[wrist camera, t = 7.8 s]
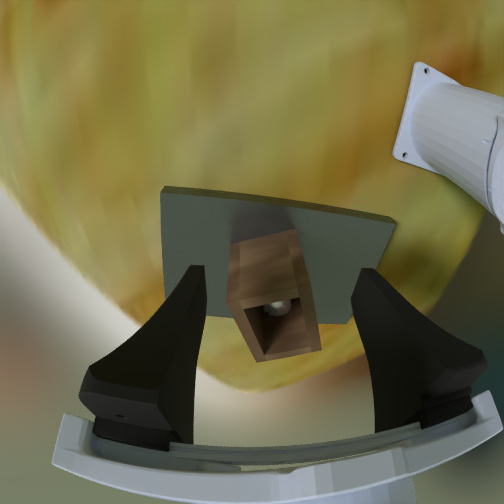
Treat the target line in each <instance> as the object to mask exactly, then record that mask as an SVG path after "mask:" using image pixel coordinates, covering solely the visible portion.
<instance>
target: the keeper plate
mask: <svg viewBox="0 0 504 504" xmlns="http://www.w3.org/2000/svg"><path fill="white" fill-rule="evenodd" d="M160 203H161V239H162V259H163V274H164V287H165V299H167V298H168V297H169V295H170V294H171V292H172V291H173V290H174V288H175V287H176V286H177V284H178V283H179V281H180V280H181V278H182V277H183V275H184V273H185V272H186V270H187V269H188V267H189V266H190V265H204V267H205V279H206V290H207V308H206V315H207V316H216V317H227V318H233V316H232V314H231V312H230V310H229V308H228V305H227V303H226V297H227V281H228V267H229V253H230V244H234V243H238V242H242V241H246V240H251V239H255V238H259V237H263V236H267V235H271V234H275V233H280V232H284V231H288V230H292V229H296V232H297V235H298V239H299V242H300V246H301V249H302V253H303V257H304V260H305V264H306V268H307V271H308V275H309V279H310V283H311V287H312V293H313V299H314V304H315V310H316V316H317V322H318V323H321V324H347V323H348V321H349V319H350V317H351V315H352V314H353V310H352V305H351V300H350V299H351V296H352V293H353V291H354V288H355V285H356V282H357V279H358V277H359V274H360V271H361V268H373V269H376V267H377V265H378V263H379V261H380V259H381V257H382V255H383V252H384V250H385V248H386V246H387V244H388V241H389V239H390V237H391V235H392V232H393V230H394V228H395V225H396V224H395V223H394V221H393V220H392V219H391V218H390V217H387V216H382V215H377V214H372V213H367V212H362V211H356V210H351V209H345V208H339V207H333V206H327V205H321V204H315V203H308V202H302V201H295V200H288V199H281V198H274V197H266V196H259V195H251V194H242V193H234V192H225V191H215V190H205V189H195V188H184V187H172V186H164V188H163V189H162V191H161V193H160ZM263 309H264V311H265V313H267V314H268V315H271V316H281V315H284V314H286V313H287V312H288V311H289V310H290V309H291V300H290V299H289V300H284V301H280V302H275V303H270V304H265V305H263Z"/></svg>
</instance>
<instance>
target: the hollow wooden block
mask: <svg viewBox="0 0 504 504" xmlns="http://www.w3.org/2000/svg"><path fill="white" fill-rule="evenodd" d="M289 299H290V300H291V309H290V310H289V311H288V312H287V313H286V314H284V315H281V316H271V315H268V314H267V313H265V311H264V309H263V305H265V304H270V303H275V302H280V301H284V300H289ZM226 303H227V305H228V308H229V310H230V312H231V314H232V316H233V318H234V320H235V322H236V324H237V326H238V328H239V330H240V331H241V333H242V335H243V337H244V339H245V341H246V343H247V345H248V347H249V349H250V351H251V353H252V355H253V357H254V359H255V360H256V362H263V361H269V360H275V359H280V358H286V357H291V356H296V355H301V354H306V353H310V352H315V351H319V350H322V348H321V342H320V335H319V329H318V322H317V316H316V310H315V304H314V299H313V293H312V287H311V283H310V279H309V275H308V271H307V268H306V264H305V260H304V257H303V253H302V249H301V246H300V242H299V239H298V235H297V232H296V229H292V230H288V231H284V232H280V233H275V234H271V235H267V236H263V237H259V238H255V239H251V240H246V241H242V242H238V243H234V244H230V253H229V267H228V281H227V297H226Z"/></svg>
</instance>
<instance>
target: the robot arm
mask: <svg viewBox="0 0 504 504" xmlns="http://www.w3.org/2000/svg"><path fill="white" fill-rule="evenodd" d="M424 69H426V70H427V73H426V74H425V72H424ZM403 153H406V155H405V157H402V156H403ZM393 156H394V158H396V159H397V160H400V161H403V162H406V163H409V164H412V165H415V166H418V167H421V168H424V169H427V170H430V171H432V172H435V173H438V174H440V175H443V176H445V177H447V178H448V179H450V180H451V181H452V182H454V183H455V184H456V185H458V186H459V187H460V188H461V189H463V190H464V191H465V192H467V193H468V194H469V195H470V196H472V197H473V198H474V199H475V200H476V201H478V202H479V203H480V204H481V205H482V206H484V207H485V208H486V209H487V210H488V211H489V212H490V213H492V214H493V215H494V216H495V217H496V218H497V219H498V220H499V222H500V226H501V227H500V231H501V232H502V233H503V234H504V98H503V97H500V96H497V95H494V94H491V93H487V92H484V91H480V90H476V89H473V88H469V87H465V86H462V85H460V84H459V83H457V82H456V81H454V80H452V79H451V78H449V77H448V76H446V75H444V74H442V73H441V72H439V71H437V70H435V69H434V68H432V67H430V66H428V65H426V64H424V63H422V62H416V63H415V64H414V67H413V72H412V77H411V82H410V87H409V91H408V95H407V100H406V104H405V108H404V112H403V116H402V120H401V123H400V127H399V131H398V134H397V138H396V141H395V145H394V148H393ZM350 300H351V305H352V310H353V315H354V319H355V322H356V325H357V328H358V331H359V334H360V337H361V340H362V343H363V346H364V349H365V352H366V356H367V360H368V364H369V369H370V375H371V380H372V388H373V396H374V397H373V398H374V411H375V433H374V434H369V435H365V436H360V437H354V438H349V439H343V440H337V441H330V442H322V443H313V444H304V445H292V446H275V447H222V446H205V445H193V422H194V395H195V378H196V367H197V360H198V354H199V349H200V344H201V339H202V334H203V329H204V324H205V319H206V308H207V290H206V279H205V267H204V265H190V266H189V267H188V269H187V270H186V272H185V273H184V275H183V277H182V278H181V280H180V281H179V283H178V284H177V286H176V287H175V288H174V290H173V291H172V292H171V294H170V295H169V297H168V298H167V299H166V300H165V302H164V303H163V304H162V305H161V306H160V308H159V309H158V310H157V311H156V312H155V314H154V315H153V316H152V317H151V318H150V319H149V320H148V321H147V322H146V323H145V324H144V325H143V326H142V327H141V328H140V329H139V330H138V331H137V332H136V333H135V334H134V335H133V336H131V337H130V338H129V339H128V340H127V341H125V342H124V343H123V344H122V345H120V346H119V347H118V348H116V349H115V350H114V351H112V352H111V353H109V354H108V355H107V356H105V357H103V358H102V359H100V360H98V361H97V362H95V363H94V364H92V365H90V366H89V368H88V370H87V372H86V374H85V376H84V379H83V382H82V385H81V389H80V392H79V395H78V396H79V399H80V401H81V402H82V403H83V404H84V405H85V406H86V407H87V408H88V409H89V410H90V411H91V412H92V413H93V414H94V415H95V416H96V418H95V422H92V421H90V420H88V419H85V418H82V417H78V416H75V415H72V414H69V413H64V415H63V418H62V422H61V426H60V429H59V433H58V437H57V441H56V446H55V450H54V454H53V459H52V464H53V465H55V466H57V467H59V468H61V469H63V470H66V471H69V472H71V473H73V474H75V475H78V476H80V477H83V478H86V479H88V480H92V481H94V482H97V483H100V484H104V485H107V486H110V487H113V488H117V489H120V490H124V491H128V492H132V493H136V494H140V495H145V496H150V497H154V498H160V499H165V500H171V501H178V502H186V503H194V504H417V501H416V495H415V489H414V483H413V478H412V476H415V475H417V474H420V473H422V472H425V471H427V470H430V469H432V468H434V467H437V466H439V465H441V464H443V463H445V462H447V461H449V460H451V459H453V458H456V457H458V456H459V455H461V454H463V453H465V452H467V451H469V450H471V449H473V448H474V447H476V446H478V445H480V444H481V443H483V442H485V441H486V440H488V439H489V438H491V437H492V436H494V435H495V434H497V433H499V432H500V431H502V430H503V426H502V423H501V420H500V417H499V414H498V411H497V409H496V406H495V404H494V401H493V398H492V396H491V393H490V391H489V390H488V391H485V392H483V393H481V394H479V395H476V396H475V397H473V398H472V399H471V398H470V395H469V394H471V393H472V389H471V387H470V386H471V385H472V384H473V383H474V382H475V381H476V380H477V379H478V378H479V377H480V376H481V375H482V374H483V373H484V372H485V370H486V369H487V366H488V363H487V361H486V358H485V356H484V354H483V352H482V350H481V349H478V348H476V347H474V346H472V345H469V344H467V343H465V342H463V341H462V340H460V339H458V338H456V337H454V336H453V335H451V334H449V333H448V332H446V331H445V330H443V329H442V328H440V327H438V326H437V325H436V324H435V323H433V322H432V321H430V320H429V319H428V318H427V317H425V316H424V315H423V314H422V313H420V312H419V311H418V310H417V309H416V308H415V307H414V306H412V305H411V304H410V303H409V302H408V301H407V300H406V299H405V298H404V297H403V296H402V295H401V294H400V293H399V292H398V291H396V290H395V289H394V288H393V287H392V286H391V285H390V284H389V283H388V282H387V281H386V280H385V279H384V278H383V277H382V276H381V275H380V274H379V273H378V272H377V271H376V270H375V269H373V268H361V271H360V274H359V277H358V279H357V282H356V285H355V288H354V291H353V293H352V296H351V299H350ZM378 449H379V450H378ZM374 450H377V451H375V452H371V453H367V454H362V455H357V456H353V457H347V458H342V459H336V460H329V461H324V462H318V463H313V464H308V465H304V466H297V467H288V468H279V469H268V470H255V471H241V468H240V467H239V466H233V465H279V464H293V463H304V462H313V461H321V460H328V459H334V458H340V457H346V456H351V455H356V454H361V453H366V452H370V451H374Z"/></svg>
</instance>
